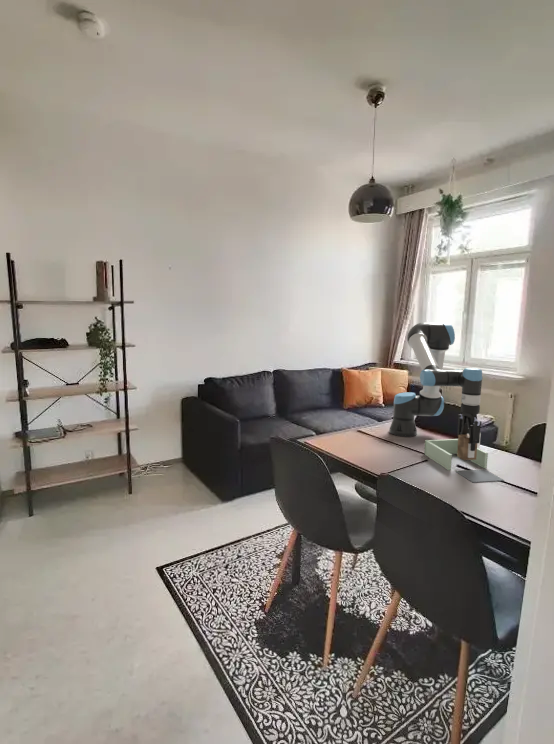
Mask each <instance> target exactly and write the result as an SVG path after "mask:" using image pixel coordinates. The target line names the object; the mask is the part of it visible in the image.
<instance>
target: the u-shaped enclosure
mask: <svg viewBox="0 0 554 744" xmlns="http://www.w3.org/2000/svg"><path fill="white" fill-rule="evenodd" d="M423 449H424V450H423V454H424V455H425V456H427V457H428V458H429V459H431V460H432V461H434V462H435V463H437V464H438V465H440V466H442V467H443V468H445V469H446V470H447V471H451V470H452V460H453V455H454V454H456V455H457V449H458V438H453V439H452V438H448V439H425V440H424V448H423ZM488 457H489V452H488V451H485V450H483V449H480V448H477V457H476V460H471V461H470V462H472V463H474V464H475V465H478V466H479V467H481V468H483V469H487V468H488Z"/></svg>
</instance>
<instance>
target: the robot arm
mask: <svg viewBox="0 0 554 744" xmlns="http://www.w3.org/2000/svg"><path fill="white" fill-rule="evenodd" d="M455 333H456V332H455V329H454V326H453V325H452V324H451V323H448V322H419V323H417V324H415V325H413V326H412V327H411V328H410V330H409V331H408V333H407V338H406V340H407V344H408V346H409V347H410V348H411V349H412V350H413V352H414V355H415V357H416V360H417V362H418V364H419V367H420V369H421V371H420V373H419V380H420V381H419V382H420V384H421V385H422V389H421V390H420V391H419V393H418V394H419V395H418V394H417V395H416V392H411V391H409V392H407V391H406V392H399V393H397V394H395V395H394V398H393V415H392V421H391V424H390V426H389V433H390V435H393V434H394V436H398V437H404V438H405V437H406V438H407V437H410V438H411V437H415V436H417V434H418V429H417V425H416V422H415V416H416V417H417V416H419V417H437V416H440V415H441V414H443V410H444V408H445V398H444V397H443V396H442V393H441V392H440V388H441V387H461V401H460V402H461V403H460V412H461V413H462V414H461V413H460V414H457V418H458V421H457V433H456V435H457V436H458V435H464V434H467V432H468V428H469V438H470V442H468V456H467V457H468V458H474V453H475V445H476V443H479V442H480V443H481V436H480V433H481V426H482V423H483V422H482V420H478V416H477V415H478V414H480V409H481V405H480V404H481V399H482V384H483V371H482V369H481V368H476V367H465V368H464V369H462V368H461V369H460V368H456V369H443V368H444V363H445V354H446V352H447V351H449V350H450V346H452V345H453V344H454V343H455V339H456V338H455V337H456V334H455ZM470 425H473V426H470ZM472 440H473V441H472Z"/></svg>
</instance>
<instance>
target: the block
mask: <svg viewBox="0 0 554 744" xmlns="http://www.w3.org/2000/svg"><path fill="white" fill-rule="evenodd" d="M457 437H458V438H457V439H458V449H457V454H456V456H457V458H459V459H461V460H462V461H470V460H476V457H477V443H476V445H475V453H474V458H468V457H467V456H468V442H470V438H469V434H464V435H457ZM472 441H473V440H472Z"/></svg>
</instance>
